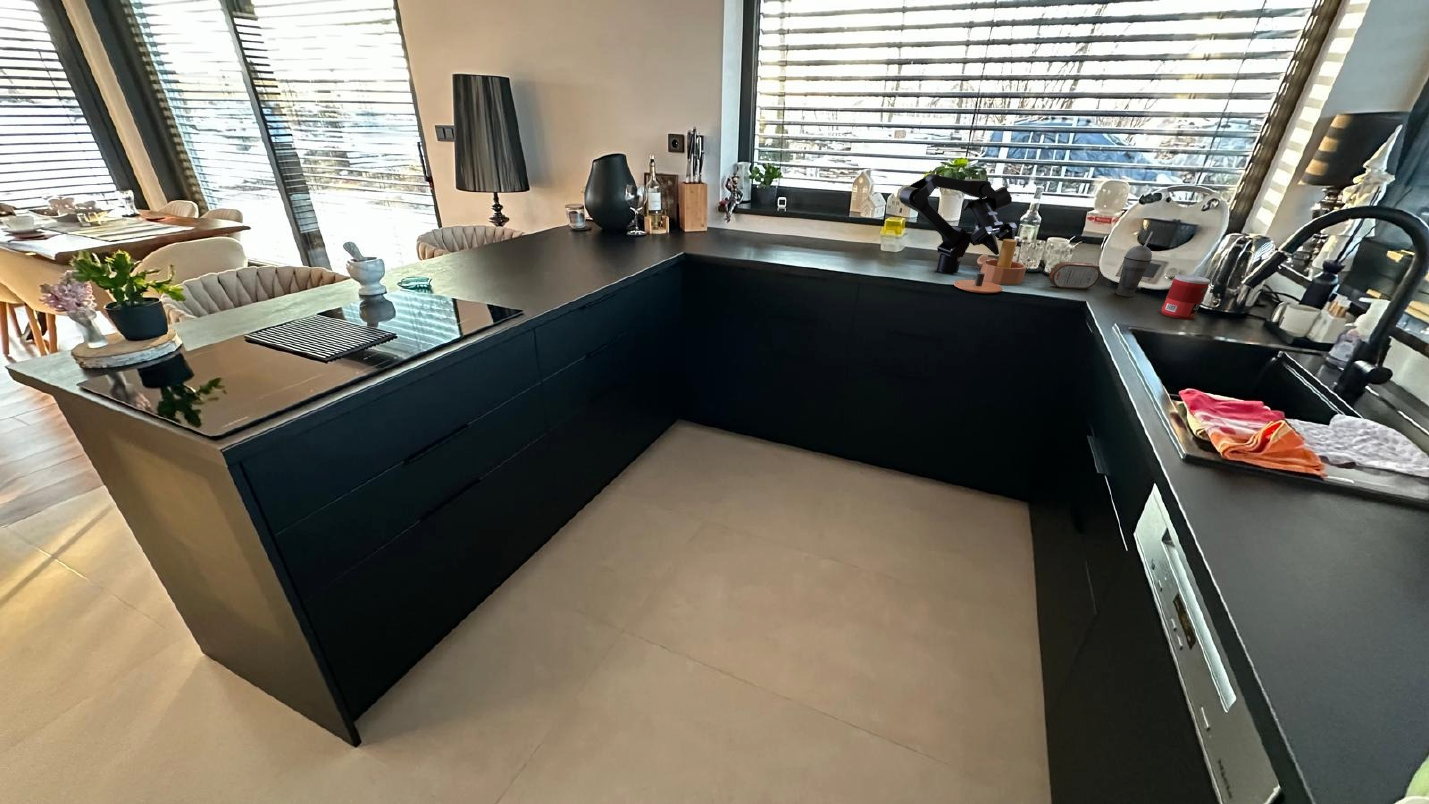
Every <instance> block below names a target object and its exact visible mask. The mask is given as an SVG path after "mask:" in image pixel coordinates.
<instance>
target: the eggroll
mask: <svg viewBox="0 0 1429 804" xmlns="http://www.w3.org/2000/svg"><path fill="white" fill-rule="evenodd" d="M1001 242H1002V243H1001V247H1000V249H999V254H998V259H997V260H998V262H997V266H996V267H1003V268H1010V267H1011V264H1012V261H1014V259H1013V258H1014V255H1015V251H1016V249H1017V244H1018V240H1016V239H1015V240H1013V239H1003V241H1001Z"/></svg>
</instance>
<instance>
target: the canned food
mask: <svg viewBox="0 0 1429 804" xmlns="http://www.w3.org/2000/svg"><path fill="white" fill-rule="evenodd" d="M1210 283H1211V280H1210V279H1208V278H1207V277H1203V276H1199V275H1198V276H1197V275H1192V274H1175V275H1174V278H1173V280H1172V281H1171V285H1170V287H1169V290H1168V292H1167V294H1166V298H1165V299H1164V302H1163V305H1162V307H1161V314H1162V315H1163V316H1166V317H1169V318H1173V319H1178V320H1179V319H1180V320H1193V319H1194V318H1195V317H1196V315H1197V313H1198V310H1199V308H1200V307H1201V305H1202V301H1203V299H1204V298H1205V295H1206V293H1207V290H1208V288H1209V285H1210Z"/></svg>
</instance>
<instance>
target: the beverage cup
mask: <svg viewBox="0 0 1429 804" xmlns="http://www.w3.org/2000/svg"><path fill="white" fill-rule="evenodd" d="M1153 234H1154V231H1150V234H1149V235H1148V237H1147V239H1146V241H1145V244H1144V245H1135V246H1133V247H1131V248H1130V249H1128V250H1127V252H1126V253H1125V254H1124V256H1123V262H1122V267H1121V268H1122V269H1121V273H1120V276H1119V281H1118V285H1117V290H1116V295H1118V296H1121V297H1130V298H1131V297H1133V296H1134V294H1135V292H1136V291H1137V289H1138V287H1139V285H1140V283H1141V281H1142V278H1143V277H1144V274H1145V272H1146V270H1147V268H1148V267H1149V266H1150V263H1151V262H1152V260H1153V259H1152V258H1153V253H1152V252H1153V251H1152V250H1151V249H1150V248H1149V247H1148V246H1147V245H1148V243H1149V241H1150V239H1151V237H1152V235H1153Z"/></svg>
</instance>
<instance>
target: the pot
mask: <svg viewBox="0 0 1429 804" xmlns="http://www.w3.org/2000/svg"><path fill="white" fill-rule="evenodd" d="M995 259H996V260H984V261H983V262H982V267H980V271H979V272H981V273H985V276H984V280H983V281H986V282H991V283H994V284H997V285H1005V286H1016V285H1017V286H1018V285H1021V284H1023V281H1024V278H1025V274H1026V270H1027V268H1028V266H1027V265H1026V264H1024V263H1021V262H1018V261H1014V260H1012V264H1011V267H1010V268H1003V267H996V266H997V262H998V259H997V258H995Z"/></svg>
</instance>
